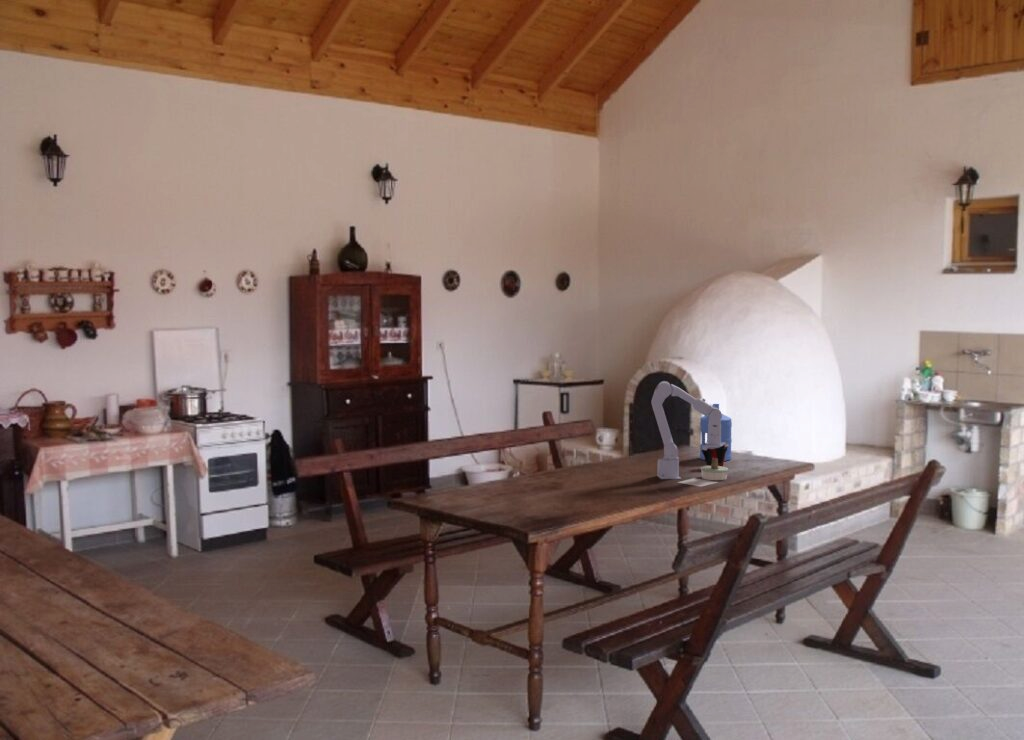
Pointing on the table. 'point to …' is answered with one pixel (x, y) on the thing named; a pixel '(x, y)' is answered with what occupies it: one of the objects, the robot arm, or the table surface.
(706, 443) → the plastic cup
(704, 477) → the white low cylinder
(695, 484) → the mat
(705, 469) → the lid
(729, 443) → the water jug
